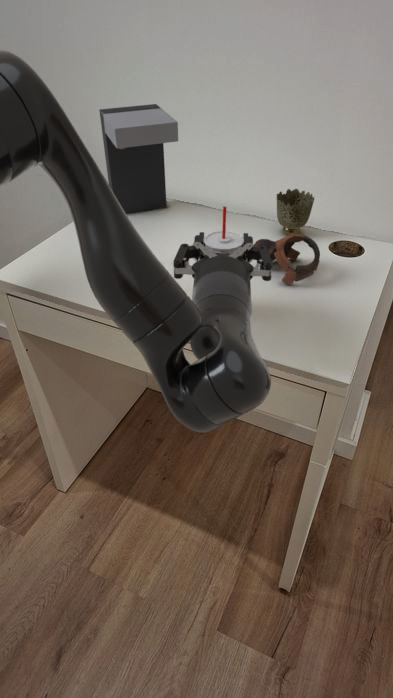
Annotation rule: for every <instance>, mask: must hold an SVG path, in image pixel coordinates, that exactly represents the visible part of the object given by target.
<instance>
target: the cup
mask: <svg viewBox="0 0 393 698" xmlns="http://www.w3.org/2000/svg"><path fill="white" fill-rule="evenodd" d="M314 201H315V196H313V193H311V192H309V191H308V192H306V191H305V190H302V191H300V190H299V189H298V188H294V189H293V190H291V189H290V188H287V189H286V192H285V193H283V191H279V192H278V193H276V219H277V221H278V224H279V225H280V226H281V227H282V228H281V229H282V232H283V234H284V235H286V236H288V235H291V234H300V232H301V228H304V226H305V225H306V224H307V223H308V221H309V219H310V216H311V213H312V209H313V205H314Z"/></svg>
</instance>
